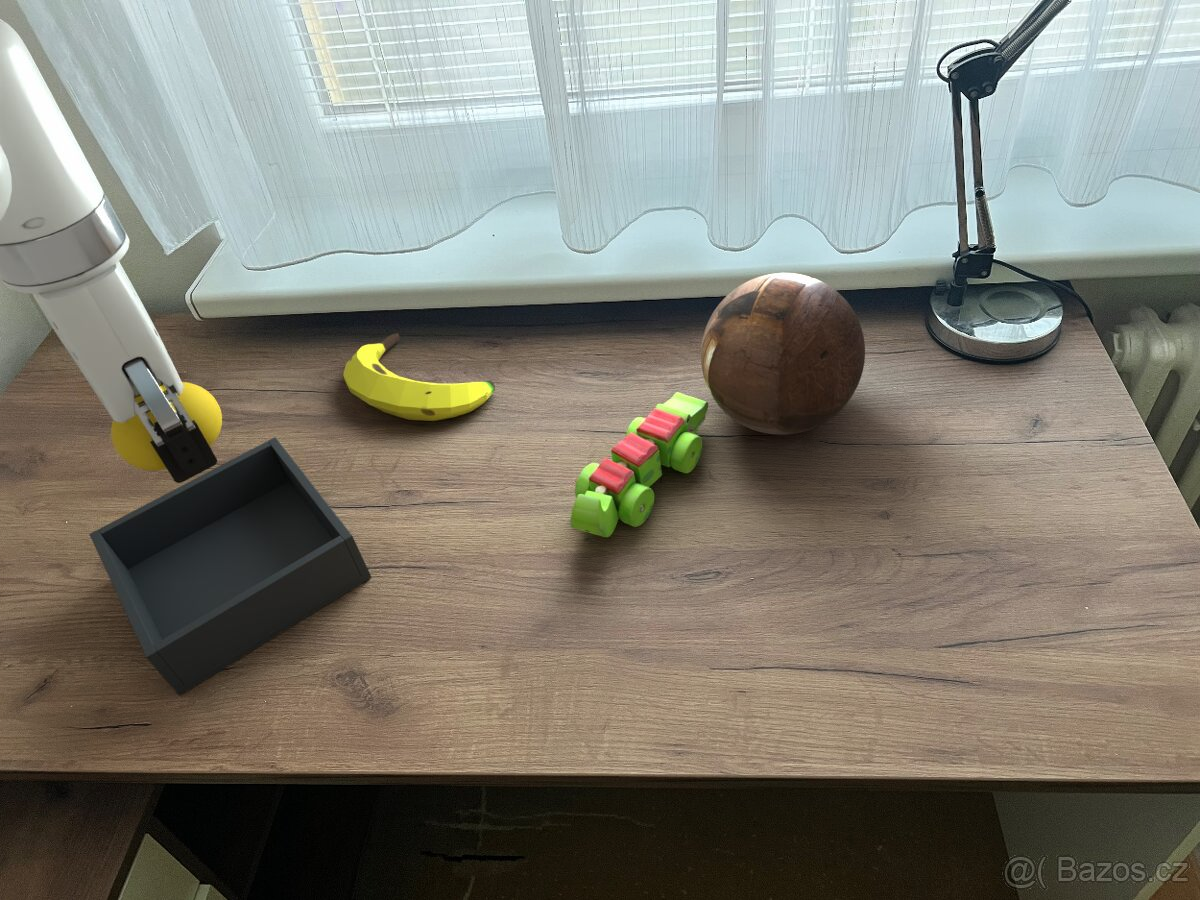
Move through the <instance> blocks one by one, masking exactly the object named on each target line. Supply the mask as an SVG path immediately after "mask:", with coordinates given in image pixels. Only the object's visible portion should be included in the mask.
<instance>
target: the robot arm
mask: <svg viewBox="0 0 1200 900" xmlns="http://www.w3.org/2000/svg"><path fill="white" fill-rule="evenodd" d="M130 241H131V240H130V238H129V236H128V234H127V232H126V230H125V229H124V226H123V224H122V222H121V221H120V219H119V217H118V215H117V213H116V211H115V210H114V207H113V206H112V204H111V202H110V200H109V198H108V196H107V195H106V193H105V191H104V189H103V188H102V185H101V184H100V182H99V180H98V178H97V176H96V174H95V173H94V171H93V169H92V167H91V165H90V163H89V161H88V160H87V157H86V156H85V154H84V152H83V150H82V149H81V147H80V145H79V143H78V141H77V139H76V137H75V135H74V134H73V131H72V130H71V127H70V125H69V124H68V122H67V120H66V118H65V116H64V114H63V113H62V111H61V109H60V107H59V105H58V103H57V101H56V99H55V97H54V96H53V94H52V92H51V90H50V88H49V86H48V85H47V82H46V81H45V79H44V77H43V75H42V73H41V72H40V70H39V67H38V66H37V64H36V62H35V60H34V58H33V55H31V53H30V51H29V49H28V47H27V46H26V44H25V42H24V40H23V39H22V37H21V36H20V35H19V34H18V32H17V31H16V30H15V29H14V28H13V27H12V26H11V25H10V24H9V23H7V22H6V21H5V20H3V19H1V18H0V280H1V282H2V283H3V285H4V286H5V287H6V288H7V289H8V290H10V291H13V292H15V293H18V294H26V295H32V296H33V298H34V299H35V301H36V303H37V305H38V307H39V308H40V310H41V311H42V314H43V315H44V316H45V319H46V320H47V321H48V323H49V324H50V326H51V328H52V329H53V331H54V332H55V334H56V336H57V337H58V339H59V340H60V342H61V343H62V345H63V346H64V348H65V350H66V351H67V353H68V354H69V355H70V357H71V359H72V360H73V361H74V363H75V364H76V366H77V367H78V369H79V371H80V372H81V374H82V375H83V377H84V378H85V380H86V381H87V383H88V385H89V386H90V387H91V389H92V391H93V392H94V393H95V394H96V396H97V398H98V399H99V401H100V403H101V404H102V405H103V407H104V409H105V410H106V411H107V414H108V415H109V416H110V417H111V419H112V421H113V420H114V421H116V422H119V423H125V422H126V420H128V419H131V418H133V417H135V413H136V414H137V415H138V416H139V418H140V420H141V421H142V423H143V424H144V426H145V427H146V429H147V431H148V432H149V434H150V435H151V437H152V439H153V441H151V442H150V443H151V444H152V446H153V448H154V449H155V451H156V452H157V454H158V455H159V457H160V459H161V460H162V462H163V463H164V465H165V467H166V468H167V469H166V470H167V471H168V473H169V474H170V476H171V477H172V480H173V481H174V482H175V483H176V484H181V483H182V484H183V482H186V481H188V480H190V479H192V478H193V477H195V476H197V475H199V474H201V473H203V472H205V471H206V470H209V469H210V468H212V467H214V466H216V465H217V463H218V459H217V457H216V455H215V453H214V451H213V449H212V448H211V446H209V444H208V443H207V441H206V439H205V437H204V436H203V434H202V432H201V430H200V429H199V427H198V425H197V423H196V422H195V420H193V421H191V419H190V417H189V416H188V414H187V412H186V411H185V409H184V407H183V406H182V404H181V402H180V401H179V399H178V397H177V395H176V394H178V396H180V395H181V394H182V391H183V388H184V386H183V384H182V382H183V381H182V379H181V378H180V375H179V373H178V371H177V369H176V367H175V365H174V363H173V360H172V358H171V356H170V354H169V352H168V351H167V348H166V346H165V345H164V342H163V340H162V338H161V336H160V334H159V332H158V330H157V329H156V326H155V325H154V323H153V321H152V319H151V317H150V315H149V313H148V312H147V309H146V308H145V306H144V303H143V302H142V300H141V299H140V297H139V294H138V293H137V291H136V289H135V288H134V285H133V283H132V281H131V280H130V278H129V277H128V275H127V273H126V271H125V269H124V267H123V266H122V263H121V262H120V261H121V260H122V259H123V257H125V255H126V254H127V252H128V251H129V248H130ZM162 385H163V386H164V388H165V391H163V392H162V390H161V389H160V387H159V386H162ZM140 395H141V397H142V398H143V400H144V401H142V402H140V403H138V404H137V402H136V401H135V399H134V398H136V397H138V396H140ZM169 402H171V404H172V406H173V407H174V409H175V411H176V413H175V411H174V410H173V408H172V406H171V405H170V403H169ZM150 411H151V412H152V414H153V416H154V417H155V419H156V421H157V422H155V423H154V425H153V423H152V422H151V420H150V418H149V417H148V415H147V414H146V413H148V412H150Z"/></svg>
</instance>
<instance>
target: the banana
mask: <svg viewBox="0 0 1200 900" xmlns="http://www.w3.org/2000/svg"><path fill="white" fill-rule="evenodd" d="M400 339H401V338H400V334H399V333H398V332H397V333H393V334H390V335H388V336H387V337H385V338H383V339H382V340H381V341H380V342H379V343H368V344H365V345H362V346H361V347H359V348H358V350H357V351H356V352H355V353H354V354H353V355H352V356H351V358H350V359H349V360H348V361H347V362H346V363H345V366H344V369H343V373H342V375H343V380H344V382H345V384H346V386H347V388H348V390H349V392H350V393H351V394H352V395H354V396H356V397H357V398H358V399H360V400H361V401H364V402H365V403H367V404H368V405H369V406H371V407H373V408H375V409H378V410H379V411H381V412H382V413H386V414H389V415H392V416H395V417H398V418H402V419H405V420H410V421H426V422H435V421H442V420H447V419H452V418H456V417H460V416H462V415H466V414H468V413H471V412H472V411H475V410H476V409H478V408H479V407H480V406H483V405H484V404H485V403H486V401H487V400H489V398H490V397H491V395H493V393H494V392H495V391H496V385H495V382H493V381H492V380H487V381H471V382H459V383H437V382H436V383H435V382H427V381H419V380H414V379H411V378H406V377H403V376H400V375H397V374H395V373H394V372H392V371H390V370H389V369H387V368H386V367H385V366H384V365H383V364H381V362H380V359H381V357H382V356H383V355H384V353H386V352H387V351H388V350H390V349H391V348H392V347H393V346H394V345H396V344H397V343H398V342H399V341H400Z"/></svg>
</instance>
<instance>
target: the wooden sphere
mask: <svg viewBox="0 0 1200 900" xmlns="http://www.w3.org/2000/svg"><path fill="white" fill-rule="evenodd" d="M863 332H864V331H863V329H862V326H861V323H860V320H859V318H858V316H857V314H856V313H855V311H854V309H853V307H852V306H851V305H850V303H849V302H848V301H847V300H846V299H845V297H843V295H842V294H841V293H840V292H838V290H836V289H835V288H833V287H831V286H830V285H829V284H827V283H825V282H823V281H822V280H819V279H817V278H815V277H813V276H808V275H805V274H801V273H795V272H777V273H775V272H774V273H768V274H765V275H760V276H758V277H754V278H751V279H750V280H747V281H746V282H744V283H741V284H740V285H739V286H738V287H737V286H736V287H735V289H733V290H732V291H731V292H729V294H727V295H726V296H725V297H724V298H723V299H722V301H720V302H719V304H718V305H717V306H716V307H715V309H714V311H713V312H712V314H711V316H710V318H709V319H708V321H707V323H706V326H705V329H704V332H703V334H702V335H703V336H702V339H701V346H700V363H701V364H700V365H701V371H702V376H703V379H704V382H705V385H706V387H707V389H708V391H709V393H710V395H711V397H712V398H713V400H714V401H715V403H716V404H717V405H718V406H719V408H720V409H721V410H722V411H723V412H724V413H725V414H726V415H727V416H728V417H730V418H731V419H732V420H734V421H735V422H737V423H738V424H740V425H742V426H743V427H746V428H748V429H750V430H753V431H756V432H759V433H762V434H769V435H778V436H779V435H780V436H783V435H785V436H786V435H794V434H799V433H803V432H807V431H810V430H813V429H815V428H817V427H819V426H822V425H823V424H825V423H826V422H828V421H829V420H830V419H832V418H834V417H835V416H836V415H837V414H838V413H840V411H841V410H842V409H843V408H844V407H845V406H846V405H847V404H848V403H849V401H850V400H851V398H852V397H853V395H854V394H855V392H856V390H857V388H858V386H859V384H860V381H861V378H862V376H863V372H864V367H865V361H866V342H865V336H864V333H863Z"/></svg>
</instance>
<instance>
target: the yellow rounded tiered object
mask: <svg viewBox="0 0 1200 900" xmlns="http://www.w3.org/2000/svg"><path fill="white" fill-rule="evenodd" d="M181 382H182V384H183V386H184V388H183V391H182V394H181V395H180V396H178V394H176V395H177V397H178V399H179V401H180V402H181V404H182V406H183V407H184V409H185V411H186V412H187V414H188V416H189V417H190V419H191V421H193V420H195V422H196V423H197V425H198V427H199V429H200V430H201V432H202V434H203V436H204V437H205V439H206V441H207V443H208V444H209V446H210V447H211V446H212V445H213V444H214V443H215V442H216V441H217V439H218V438H219V436H220V433H221V431H222V427H223V426H222V425H223V413H222V411H221V407H220V405H219V403H218V400H216V398H215V397H214V395H213V394H211V393H210V392H209V390H208V389H205V388H203V387H202V386H200V385H197V384H195V383H192V382H186V381H181ZM159 387H160V389H161V390H162V392H163V391H165V388H164V386H163V385H162V386H159ZM134 399H135V401H136V402H137V404H138V403H140V402H142V401H144V400H143V398H142V397H141V395H140V396H138V397H136V398H134ZM169 403H170V405H171V406H172V404H171V402H169ZM172 408H173V410H174V411H175V409H174V407H173V406H172ZM175 413H176V411H175ZM146 414H147V415H148V417H149V418H150V420H151V422H152V423H153V425H154V423H155V422H157V421H156V419H155V417H154V416H153V414H152V412H151V411H150V412H148V413H146ZM110 427H111V428H110V438H111V442H112V445H113V447H114V450H115V451H116V453H117V454H118V456H119V457H120V458H121V459H122V460H123V461H125V462H126V463H127V464H128V465H131V466H133V467H134V468H137V469H140V470H142V471H148V472H149V471H150V472H158V471H159V472H160V471H165V470H167V468H166V467H165V465H164V463H163V462H162V460H161V459H160V457H159V455H158V454H157V452H156V451H155V449H154V448H153V446H152V444H151V443H150V442H151V441H153V439H152V437H151V435H150V434H149V432H148V431H147V429H146V427H145V426H144V424H143V423H142V421H141V420H140V418H139V416H138V415H137V414H136V413H135V417H133V418H131V419H128V420H126V422H125V423H119V422H116V421H114V420H113V419H112V422H111V426H110Z"/></svg>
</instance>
